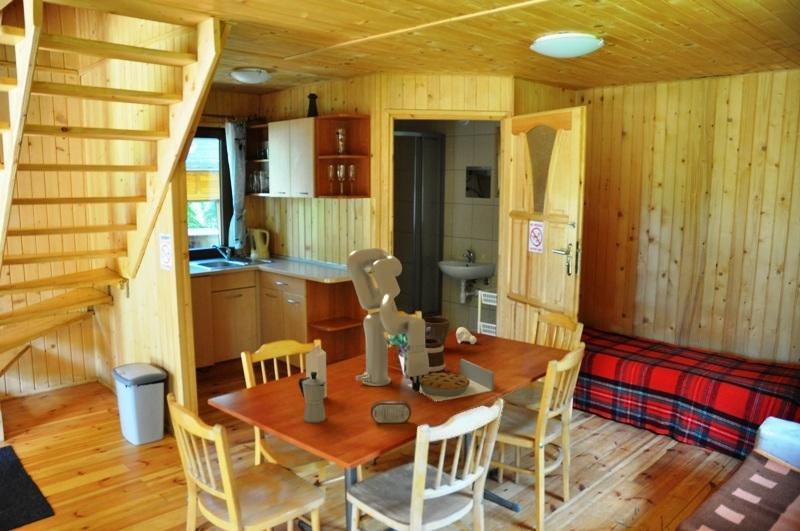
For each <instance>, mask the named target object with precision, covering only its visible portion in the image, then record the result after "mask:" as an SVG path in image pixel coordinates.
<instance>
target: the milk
mask: <svg viewBox="0 0 800 531" xmlns="http://www.w3.org/2000/svg"><path fill="white" fill-rule="evenodd" d="M311 372H317V375H316V378H319V379H323V380H325V381H326V382H327V353H326V351H324V350H323V349H322V348H321V345H320V344H317V345H315V346H313V347H311V351H309V352H308V353H306V354H305V379H306V378H307V377H310V378H312V377H311ZM325 398H327V383H326V384H325V392H324V398H323V399H325Z"/></svg>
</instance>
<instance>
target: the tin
mask: <svg viewBox="0 0 800 531" xmlns="http://www.w3.org/2000/svg"><path fill="white" fill-rule="evenodd" d="M370 416H371V419H372V420H373V421H374V422H376V423H377V424H380V425H381V424H387V425H388V424H390V425H391V424H397V425H399V424H405V423H407V422H408V421H409V420H410V418H411V416H412V408H411V405H410V404H409V402H407V401H405V400H401V399H400V400H398V399H397V400H395V399H393V400H391V399H389V400H387V399H386V400H385V399H383V400H381V399H379V400H377V401H375V402H374V403H373V404H372V405H371V407H370Z"/></svg>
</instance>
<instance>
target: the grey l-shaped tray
mask: <svg viewBox="0 0 800 531" xmlns="http://www.w3.org/2000/svg"><path fill="white" fill-rule="evenodd" d="M459 375H461V376H463V377H464V376H465V377H467V379H469V382H470V384H469V386H468V387H467V388H466V390H465V392H464V393H462V394H460V395H457V396H449V397H444V396H435V395H431V394H427V393H425V392H423V390H422V387H421V386H420V391H419V392H420V394H421V393H423V394H424V395H423V394H422V395H423V396H425V395H426V396H428V397H429V396H430V397H431V398H432V399H433V400H434V401H433V400H432V401H433V402H435V401H436V402H435V403H438V402H437V401H439V402H443V400H444V401H448V400H452V399H453V400H454V399H457V398H463V397H469V396H473V395H478V394H484V393H489V392H494V388H495V387H494V386H495V372H493V371H492V370H489V369H487V368H484V367H482V366H480V365H477V364H475V363H473V362H471V361H468V360H466V359H465V358H460V373H459ZM407 386H408V387H409V386H410V388H411V387H412V383H410V384H407ZM419 392H418V393H419ZM426 396H425V397H426ZM428 397H427V398H428Z"/></svg>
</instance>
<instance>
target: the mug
mask: <svg viewBox="0 0 800 531" xmlns="http://www.w3.org/2000/svg"><path fill="white" fill-rule="evenodd" d="M444 346H445V345H444ZM444 346H443V345H442V342H441V341H440V340H437V339H425V350H426V351H427V353H428V359H429V373H428V374H429V375H430V374H432V373H443V372H444V373H446V366H447V365H446V362H445V358H444V357H445V356H444V349H445V347H444Z"/></svg>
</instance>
